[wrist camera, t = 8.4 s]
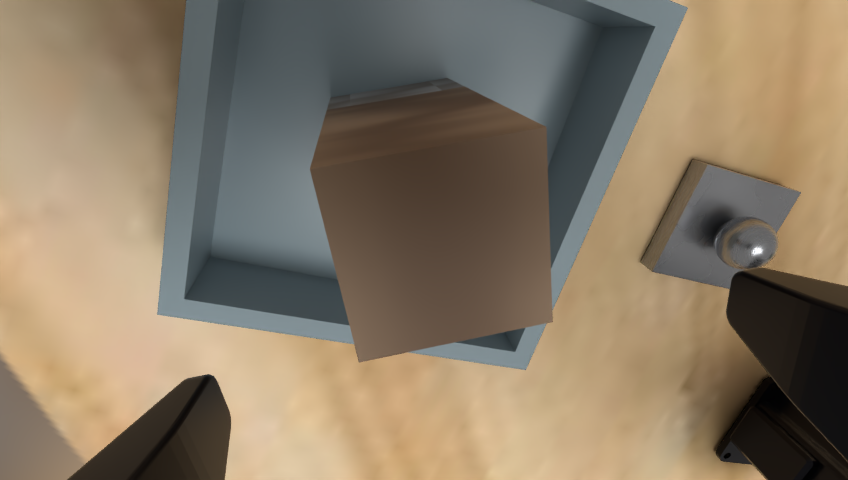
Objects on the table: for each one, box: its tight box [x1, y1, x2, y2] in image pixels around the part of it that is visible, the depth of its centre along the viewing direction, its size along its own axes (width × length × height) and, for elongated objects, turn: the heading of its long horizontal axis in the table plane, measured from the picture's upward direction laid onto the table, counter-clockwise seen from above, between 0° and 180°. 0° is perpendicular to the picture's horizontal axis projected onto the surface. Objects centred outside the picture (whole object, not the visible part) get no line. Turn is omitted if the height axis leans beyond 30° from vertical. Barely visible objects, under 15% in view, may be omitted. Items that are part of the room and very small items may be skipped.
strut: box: [310, 78, 553, 362], centre depth 14 cm, size 4×4×10 cm
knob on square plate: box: [641, 159, 801, 289], centre depth 22 cm, size 5×5×3 cm
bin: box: [157, 0, 688, 370], centre depth 17 cm, size 14×14×4 cm
